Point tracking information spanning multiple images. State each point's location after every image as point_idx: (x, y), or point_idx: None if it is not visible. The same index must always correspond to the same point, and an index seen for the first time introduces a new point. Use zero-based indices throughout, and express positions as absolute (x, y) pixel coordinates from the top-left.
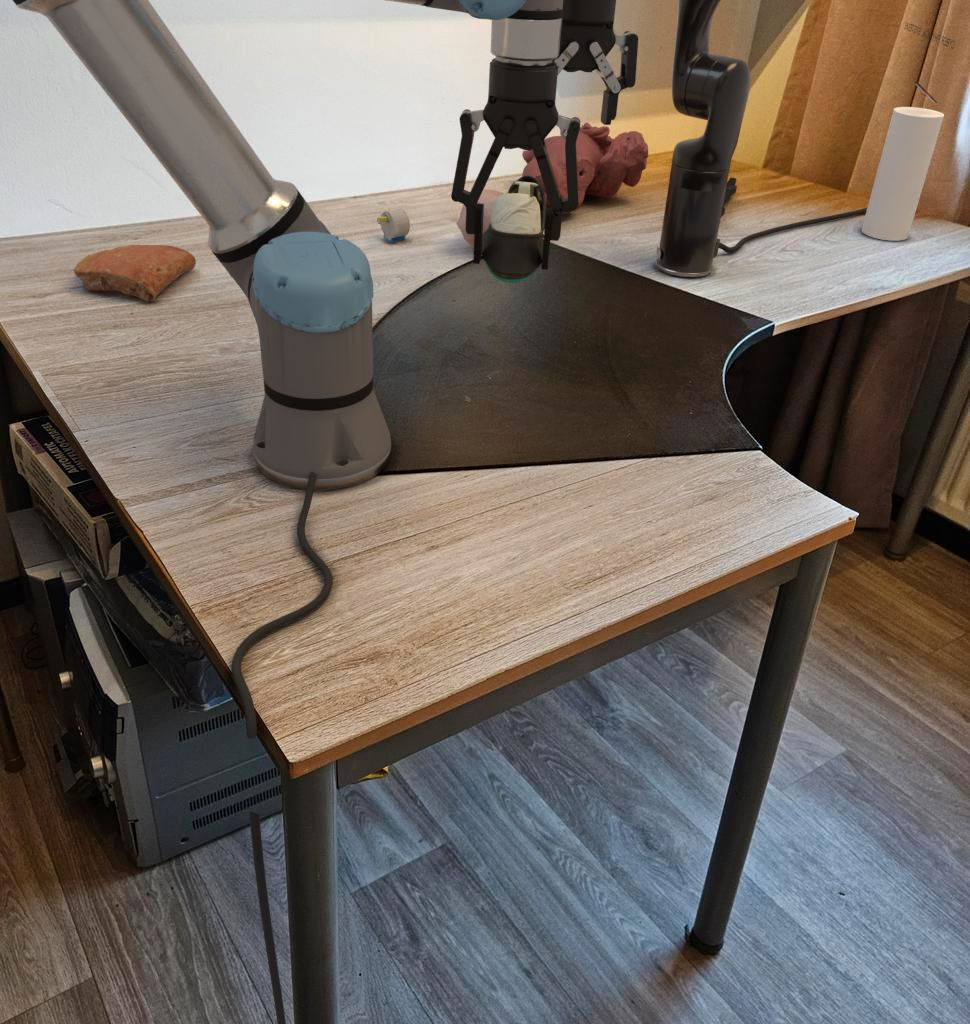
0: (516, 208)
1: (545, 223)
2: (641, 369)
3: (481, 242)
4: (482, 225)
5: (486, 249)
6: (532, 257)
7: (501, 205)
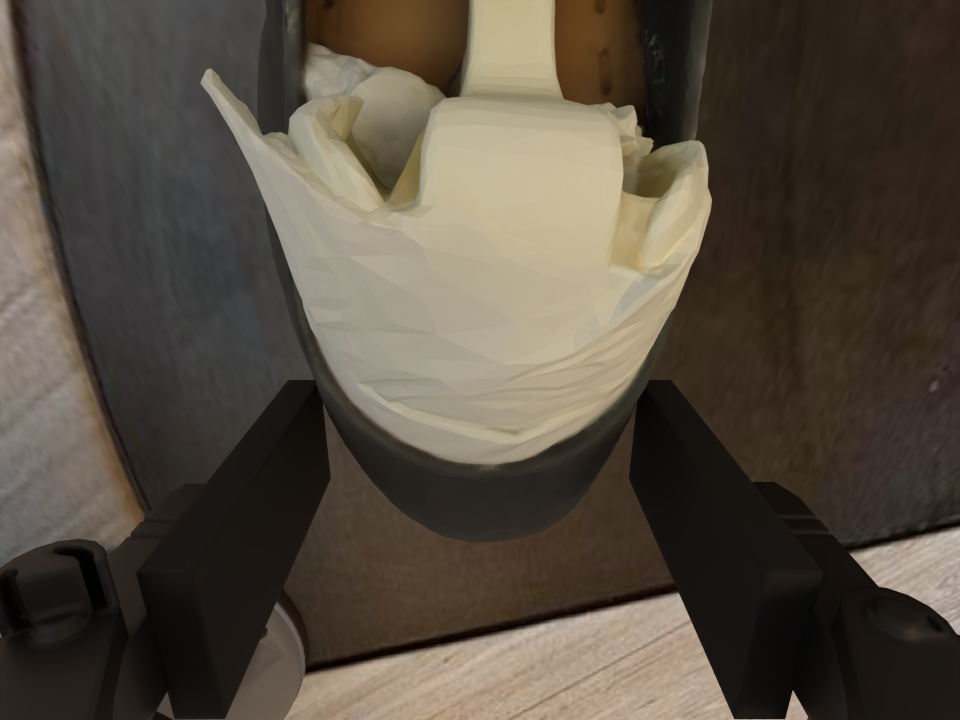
0: (483, 381)
1: (713, 661)
2: (880, 154)
3: (298, 462)
4: (263, 509)
5: (337, 425)
6: (591, 469)
7: (332, 304)
